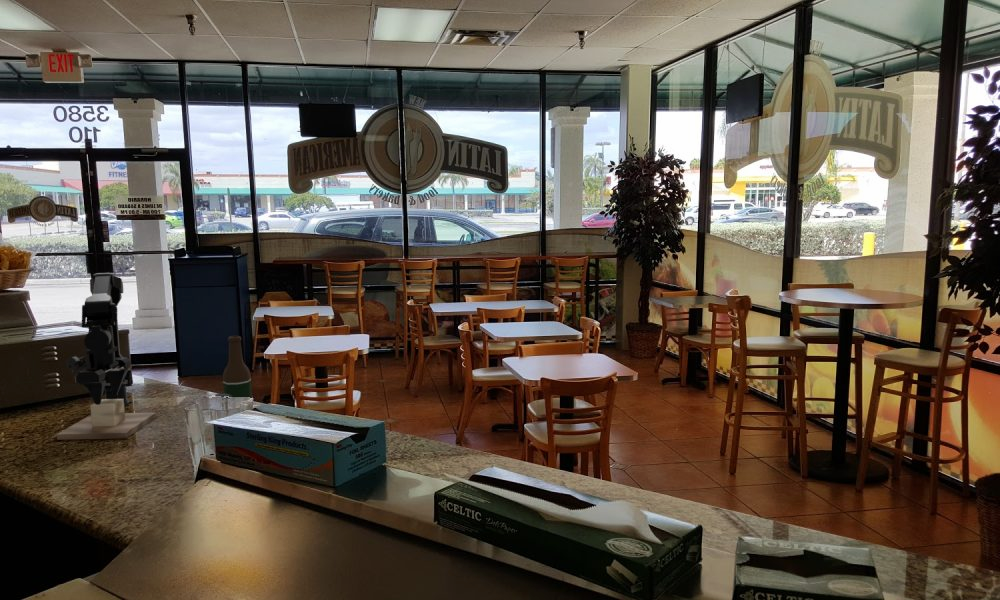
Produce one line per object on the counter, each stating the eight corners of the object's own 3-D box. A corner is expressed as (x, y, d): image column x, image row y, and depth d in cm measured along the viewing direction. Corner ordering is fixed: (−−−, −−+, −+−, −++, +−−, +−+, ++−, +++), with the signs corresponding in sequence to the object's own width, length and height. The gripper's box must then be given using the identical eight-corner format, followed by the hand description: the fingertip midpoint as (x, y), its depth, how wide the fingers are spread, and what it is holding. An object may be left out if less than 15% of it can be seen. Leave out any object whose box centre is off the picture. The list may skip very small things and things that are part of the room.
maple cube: (103, 419, 194) (101, 399, 193) (125, 419, 194) (123, 398, 193) (92, 426, 188) (90, 405, 187) (114, 426, 188) (112, 405, 187)
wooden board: (93, 418, 199) (92, 413, 199) (156, 417, 200) (155, 412, 200) (57, 439, 182) (56, 434, 181) (126, 438, 183) (126, 432, 182)
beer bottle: (219, 418, 200) (214, 338, 196) (238, 410, 207) (233, 333, 203) (239, 421, 197) (235, 339, 193) (258, 413, 204) (254, 335, 201)
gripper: (90, 338, 196) (94, 391, 199) (51, 352, 178) (57, 410, 180) (129, 338, 197) (133, 390, 199) (95, 351, 179) (100, 409, 181)
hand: (106, 399), depth 190 cm, fingers open, 9 cm apart
